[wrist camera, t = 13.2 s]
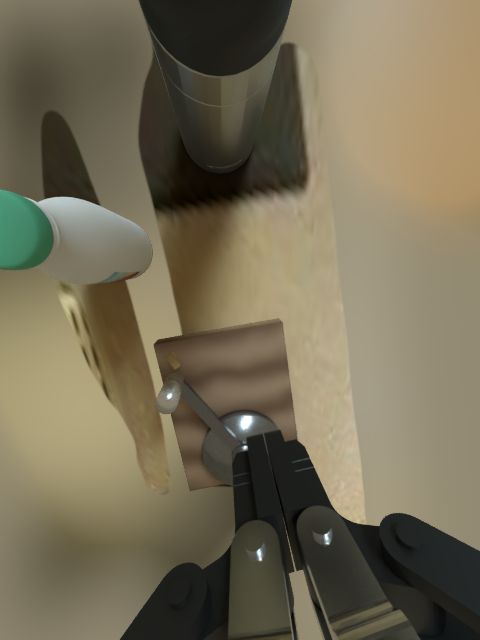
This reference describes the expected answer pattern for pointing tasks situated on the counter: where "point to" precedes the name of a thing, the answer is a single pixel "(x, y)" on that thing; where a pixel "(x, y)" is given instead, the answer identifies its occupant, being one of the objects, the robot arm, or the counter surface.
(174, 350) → the stand
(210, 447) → the gray disc with handle
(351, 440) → the counter surface
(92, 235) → the milk bottle
